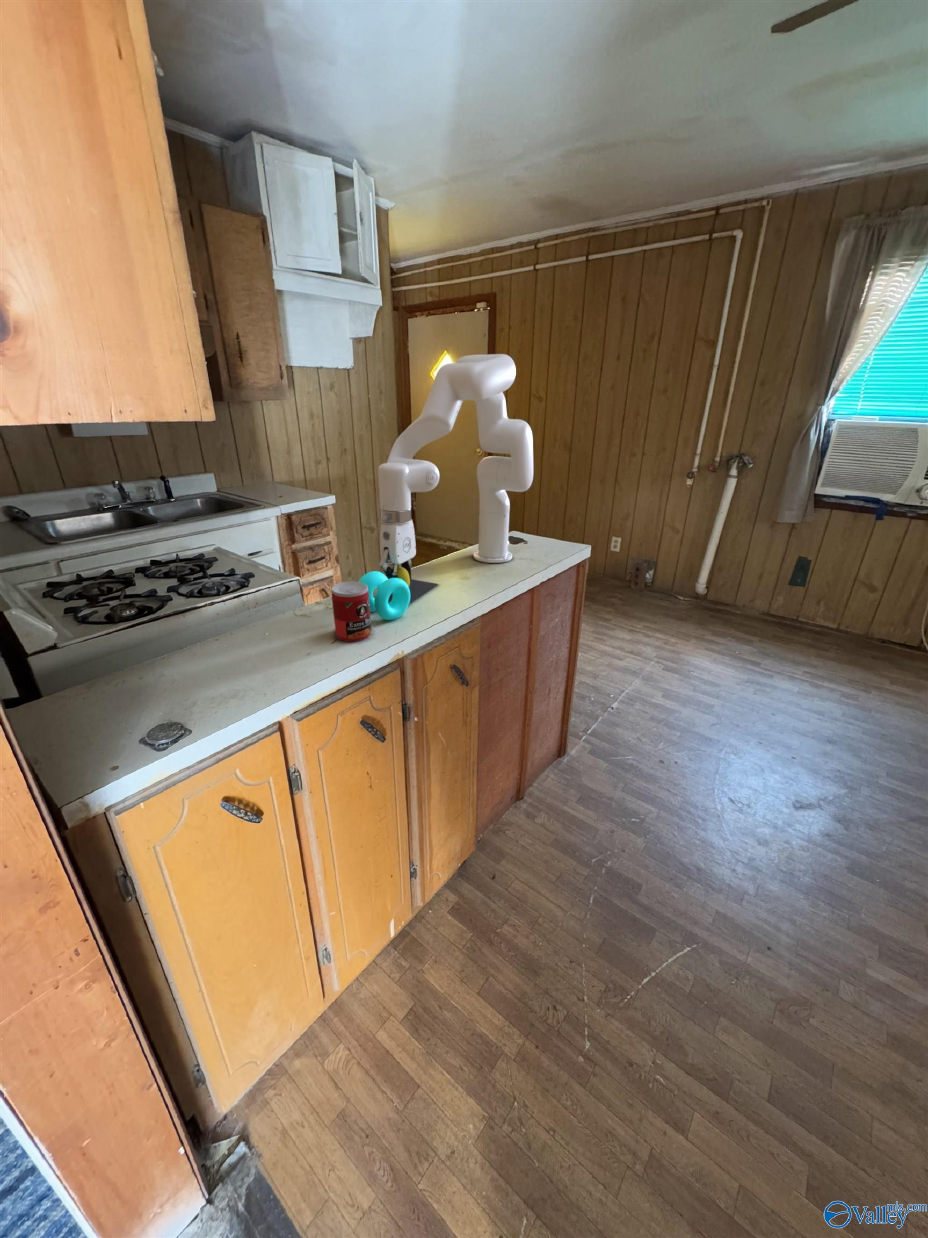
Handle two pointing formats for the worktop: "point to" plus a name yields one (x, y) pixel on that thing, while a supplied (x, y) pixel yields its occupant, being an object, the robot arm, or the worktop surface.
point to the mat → (417, 589)
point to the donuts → (386, 595)
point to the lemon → (403, 574)
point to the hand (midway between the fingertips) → (399, 584)
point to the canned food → (351, 610)
